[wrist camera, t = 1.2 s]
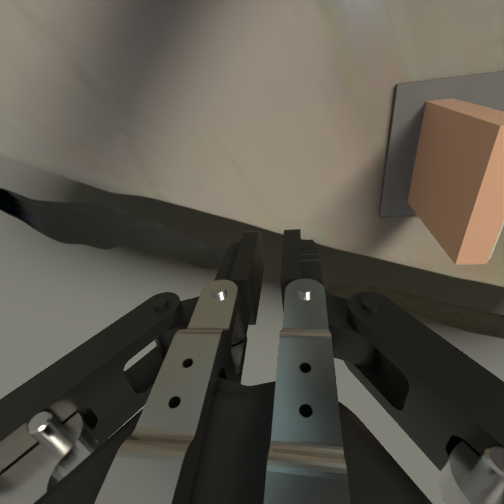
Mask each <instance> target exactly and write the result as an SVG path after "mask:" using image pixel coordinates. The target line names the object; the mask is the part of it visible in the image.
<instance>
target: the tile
mask: <svg viewBox="0 0 504 504" xmlns="http://www.w3.org/2000/svg"><path fill="white" fill-rule="evenodd" d="M407 202H408V204H409V205H410V206H411V207H412V209H413V210H414V211H415V213H416V214H417V215H418V217H419V218H420V219H421V220H422V222H423V223H424V224H425V226H426V227H427V228H428V230H429V231H430V232H431V233H432V235H433V236H434V237H435V239H436V240H437V241H438V243H439V244H440V245H441V247H442V248H443V249H444V250H445V252H446V253H447V254H448V256H449V257H450V258H451V260H452V261H453V262H454V263H455V264H487V262H488V260H489V259H490V258H491V255H492V253H493V250H494V248H495V245H496V243H497V240H498V238H499V235H500V233H501V230H502V228H503V225H504V111H500V110H496V109H492V108H488V107H484V106H480V105H477V104H473V103H469V102H465V101H461V100H457V99H453V98H450V99H441V100H432V101H426V105H425V110H424V116H423V121H422V126H421V132H420V137H419V142H418V148H417V153H416V158H415V164H414V169H413V175H412V180H411V185H410V191H409V196H408V201H407Z"/></svg>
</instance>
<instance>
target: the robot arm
mask: <svg viewBox="0 0 504 504" xmlns="http://www.w3.org/2000/svg"><path fill="white" fill-rule="evenodd" d="M263 274H264V258H263V249H262V241H261V234H260V231H251V232H243V235H242V238H241V242H238V243H232V244H231V245H230V246H229V247H228V248H227V249H226V251H225V254H224V257H223V259H222V263H221V265H220V267H219V270H218V273H217V276H216V278H215V281H214V282H211V283H209V284H208V285H206V286H205V287H204V288H203V290H202V292H201V294H200V296H199V297H196V298H192V299H188V300H184V301H180V299H179V297H178V296H177V295H176V294H174V293H171V292H165V293H160V294H157V295H155V296H153V297H151V298H150V299H148V300H147V301H145V302H144V303H142V304H141V305H139V306H138V307H136V308H135V309H133V310H132V311H130V312H129V313H127V314H126V315H124V316H123V317H121V318H120V319H118V320H117V321H115V322H114V323H113V324H111V325H110V326H108V327H107V328H105V329H104V330H102V331H101V332H99V333H98V334H96V335H95V336H93V337H92V338H90V339H89V340H88V341H86V342H85V343H83V344H82V345H80V346H79V347H77V348H76V349H74V350H73V351H71V352H70V353H68V354H67V355H65V356H64V357H62V358H61V359H60V360H58V361H57V362H55V363H54V364H52V365H51V366H49V367H48V368H46V369H45V370H43V371H42V372H40V373H39V374H37V375H36V376H34V377H33V378H31V379H30V380H28V381H27V382H25V383H24V384H23V385H21V386H20V387H18V388H17V389H15V390H14V391H12V392H11V393H9V394H8V395H6V396H5V397H3V398H2V399H1V400H0V504H432V503H431V501H430V500H429V499H428V498H427V497H426V496H425V494H424V493H423V492H422V491H421V490H420V489H419V488H418V486H417V485H416V484H415V483H414V482H413V481H412V479H410V477H409V476H408V475H407V474H406V473H405V472H404V470H403V469H402V468H401V467H400V466H399V464H398V463H397V462H396V461H395V460H394V459H393V457H392V456H391V455H390V454H389V453H388V452H387V451H386V450H385V448H384V447H383V446H382V445H381V444H380V442H379V441H378V440H377V439H376V438H375V437H374V435H373V434H372V433H371V432H370V431H369V430H368V429H367V428H366V426H365V425H364V424H363V423H362V422H361V420H360V419H359V418H358V417H357V416H356V415H355V414H354V413H353V412H352V411H350V410H349V409H348V408H347V407H346V406H344V405H343V404H342V403H340V402H338V395H337V386H336V376H335V368H334V357H335V358H338V359H341V360H344V362H345V364H346V366H347V367H348V369H349V370H350V371H351V372H352V373H353V374H354V375H355V377H356V378H357V379H358V380H359V381H360V382H361V383H362V384H363V385H364V386H365V388H366V389H367V390H368V391H369V392H370V393H371V394H372V396H373V397H374V398H375V399H376V400H377V401H378V402H379V403H380V404H381V405H382V407H383V408H384V409H385V410H386V411H387V412H388V413H389V414H390V416H391V417H392V418H393V419H394V420H395V421H396V422H397V423H398V424H399V426H400V427H401V428H402V429H403V430H404V431H405V432H406V433H407V434H408V436H409V437H410V438H411V439H412V440H413V441H414V442H415V443H416V444H417V446H418V447H419V448H420V449H421V450H422V451H423V452H424V453H425V454H426V456H427V457H428V458H429V459H430V460H431V461H432V462H433V463H434V465H435V466H436V467H437V468H438V469H439V470H440V471H441V472H440V476H439V488H440V491H441V494H442V497H443V500H444V501H445V503H446V504H504V382H503V381H502V380H500V379H499V378H498V377H496V376H495V375H493V374H492V373H491V372H489V371H488V370H486V369H485V368H484V367H482V366H481V365H479V364H478V363H477V362H475V361H474V360H473V359H471V358H470V357H468V356H467V355H466V354H464V353H463V352H461V351H460V350H459V349H457V348H456V347H455V346H453V345H452V344H450V343H449V342H447V341H446V340H445V339H444V338H442V337H441V336H439V335H438V334H437V333H435V332H434V331H432V330H431V329H430V328H428V327H427V326H426V325H424V324H423V323H421V322H420V321H419V320H417V319H416V318H414V317H413V316H412V315H410V314H409V313H408V312H406V311H405V310H403V309H402V308H401V307H399V306H398V305H396V304H395V303H394V302H392V301H391V300H390V299H388V298H387V297H385V296H383V295H381V294H378V293H375V292H360V293H357V294H355V295H353V296H352V297H351V298H350V299H344V298H340V297H337V296H334V295H332V294H331V293H329V292H328V291H327V290H326V289H325V288H324V287H323V284H322V275H321V268H320V259H319V249H318V246H317V244H316V243H315V242H314V241H313V240H301V236H300V229H296V230H284V238H283V253H282V266H281V291H282V302H283V326H282V327H283V328H282V330H281V331H280V336H279V347H278V359H277V360H278V361H277V371H276V381H274V382H269V383H264V384H259V385H254V386H245V385H241V378H242V371H243V364H244V359H245V351H246V346H247V329H248V325H255V324H256V319H257V312H258V306H259V300H260V293H261V287H262V280H263ZM154 340H155V342H156V344H157V346H156V347H155V348H154V349H153V350H151V351H150V352H149V353H148V354H146V355H145V356H144V357H143V358H141V359H140V360H139V361H138V362H136V363H135V364H134V365H133V366H131V367H130V368H129V369H128V370H126V371H124V372H123V369H124V366H125V364H126V363H127V362H128V361H129V360H130V359H131V358H132V357H133V356H135V355H136V354H137V353H138V352H140V351H141V350H142V349H143V348H145V347H146V346H147V345H148V344H150V343H151V342H152V341H154ZM144 405H145V406H144ZM143 406H144V408H143V409H142V410H141V411H140V412H139V413H137V414H136V415H135V416H134V417H133V418H132V419H131V420H129V421H128V422H127V423H126V424H125V425H124V426H122V425H123V424H124V423H125V422H126V421H127V420H128V419H130V418H131V417H132V416H133V415H134V414H135V413H136V412H137V411H138V410H139V409H140V408H142V407H143ZM121 426H122V427H121ZM120 427H121V428H120ZM119 428H120V429H119ZM118 429H119V430H118ZM117 430H118V431H117ZM116 431H117V432H116ZM114 432H116V433H115V434H113V433H114ZM112 434H113V435H112ZM111 435H112V436H111ZM110 436H111V437H110ZM109 437H110V438H109ZM108 438H109V439H108ZM101 444H102V445H101ZM100 445H101V446H100Z"/></svg>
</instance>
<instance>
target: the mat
mask: <svg viewBox="0 0 504 504" xmlns="http://www.w3.org/2000/svg"><path fill="white" fill-rule="evenodd" d="M450 98H453V99H457V100H461V101H465V102H469V103H473V104H477V105H480V106H484V107H488V108H492V109H496V110H500V111H504V71H498V72H490V73H482V74H474V75H466V76H458V77H450V78H441V79H433V80H425V81H417V82H409V83H401V84H396V91H395V99H394V106H393V114H392V121H391V129H390V137H389V144H388V152H387V159H386V167H385V174H384V182H383V190H382V197H381V205H380V212H379V216H380V217H391V216H412V215H417V214H416V213H415V211H414V210H413V209H412V207H411V206H410V205H409V204H408V202H407V201H408V196H409V191H410V185H411V180H412V175H413V169H414V164H415V158H416V153H417V148H418V142H419V137H420V132H421V126H422V121H423V116H424V110H425V105H426V101H432V100H441V99H450Z"/></svg>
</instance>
